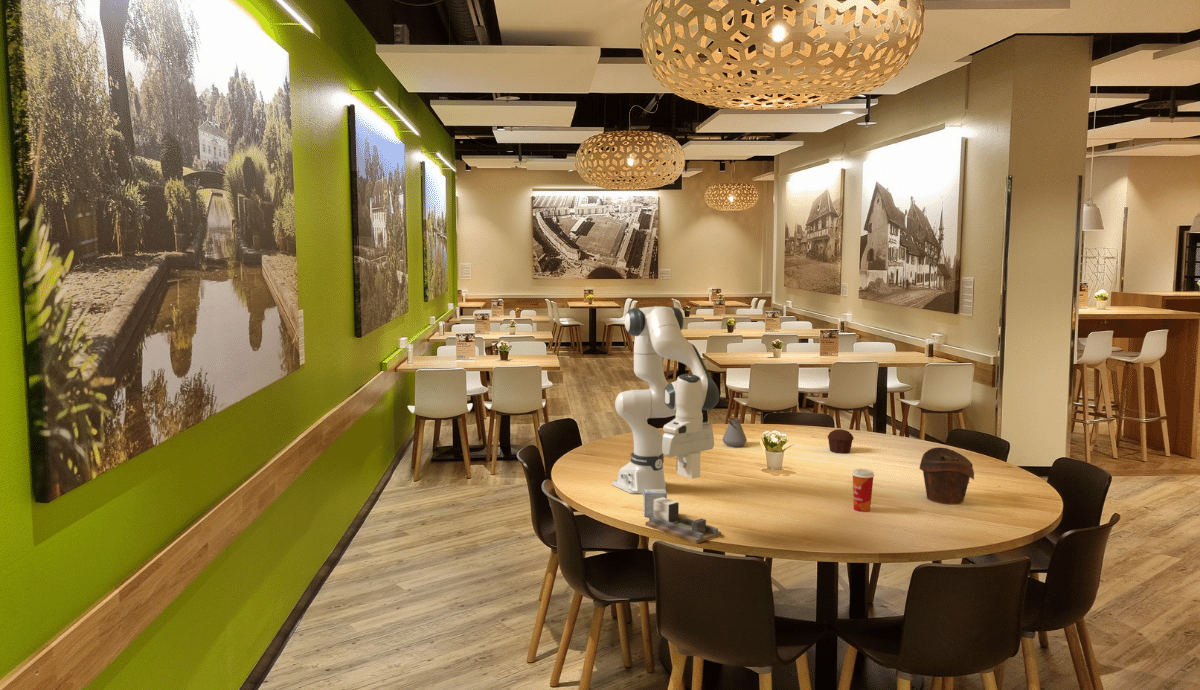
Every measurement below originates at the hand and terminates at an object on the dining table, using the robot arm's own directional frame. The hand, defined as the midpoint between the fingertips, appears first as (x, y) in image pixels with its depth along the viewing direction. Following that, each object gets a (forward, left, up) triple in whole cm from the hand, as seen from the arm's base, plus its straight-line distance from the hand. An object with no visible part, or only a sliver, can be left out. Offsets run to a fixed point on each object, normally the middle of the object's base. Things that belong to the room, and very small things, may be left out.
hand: (688, 466), depth 266 cm
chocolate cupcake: (+40, +97, -22) cm, 107 cm away
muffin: (-27, +132, -22) cm, 136 cm away
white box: (0, 0, -3) cm, 3 cm away
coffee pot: (-64, +100, -22) cm, 120 cm away
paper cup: (+26, +63, -22) cm, 71 cm away
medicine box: (-18, +3, -22) cm, 28 cm away
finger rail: (-1, -1, -22) cm, 22 cm away
